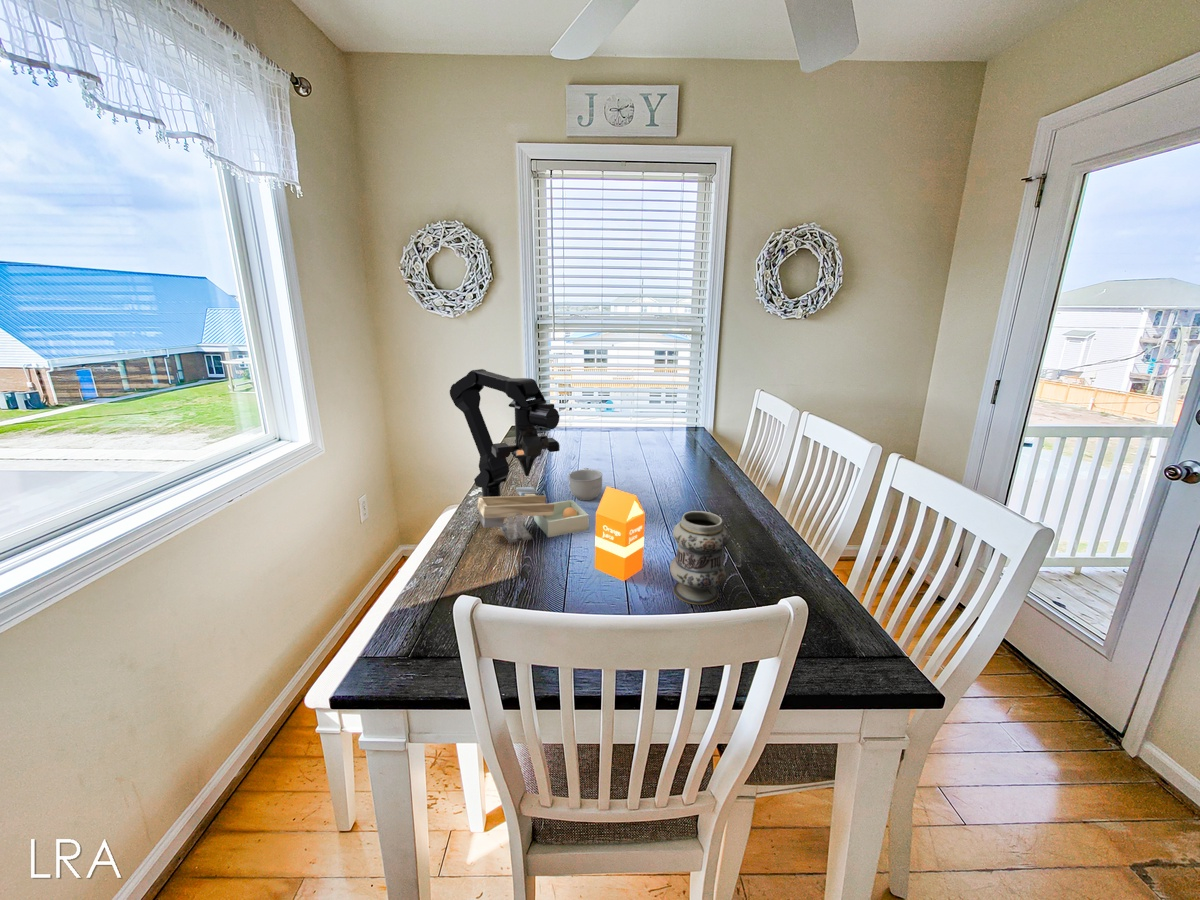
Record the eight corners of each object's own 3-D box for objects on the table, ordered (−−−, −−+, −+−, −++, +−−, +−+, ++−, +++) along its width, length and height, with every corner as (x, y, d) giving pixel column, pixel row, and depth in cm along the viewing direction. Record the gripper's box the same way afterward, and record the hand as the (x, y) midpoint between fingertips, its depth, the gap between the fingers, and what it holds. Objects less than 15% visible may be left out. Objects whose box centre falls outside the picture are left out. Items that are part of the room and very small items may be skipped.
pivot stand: (499, 527, 139) (498, 502, 137) (520, 523, 142) (519, 499, 140) (509, 543, 130) (508, 516, 128) (531, 538, 133) (530, 513, 131)
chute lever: (469, 504, 142) (470, 484, 141) (532, 502, 151) (534, 484, 150) (482, 528, 128) (484, 507, 126) (551, 525, 136) (554, 504, 135)
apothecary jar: (715, 577, 116) (722, 507, 111) (730, 608, 105) (739, 530, 99) (664, 577, 116) (669, 506, 110) (673, 608, 104) (679, 530, 99)
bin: (534, 520, 144) (533, 505, 143) (572, 513, 149) (572, 499, 148) (548, 537, 134) (547, 522, 133) (588, 529, 139) (588, 515, 138)
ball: (569, 520, 145) (558, 515, 143) (576, 508, 145) (565, 503, 143) (574, 525, 141) (563, 520, 139) (581, 513, 141) (570, 508, 139)
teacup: (598, 504, 156) (598, 481, 154) (564, 501, 158) (564, 477, 156) (606, 489, 170) (606, 467, 167) (575, 486, 172) (575, 464, 169)
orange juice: (614, 556, 125) (616, 482, 119) (642, 568, 120) (646, 491, 114) (594, 568, 119) (595, 490, 113) (623, 581, 114) (626, 500, 108)
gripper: (500, 433, 130) (502, 489, 134) (566, 427, 137) (566, 480, 142) (490, 424, 139) (492, 476, 144) (552, 418, 147) (553, 468, 152)
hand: (526, 475), depth 145 cm, fingers closed
